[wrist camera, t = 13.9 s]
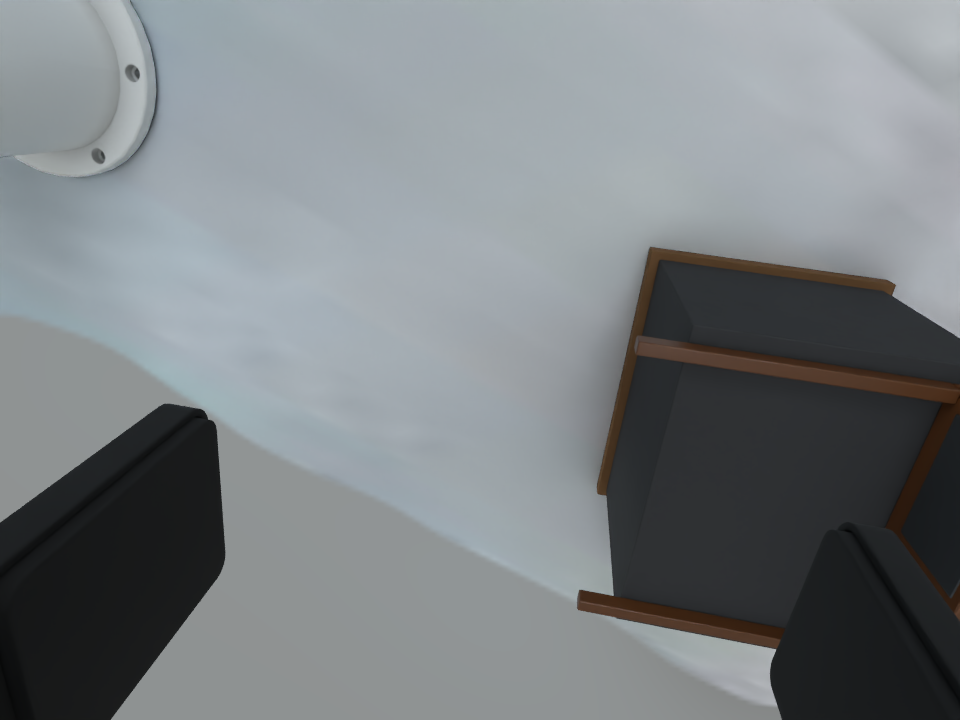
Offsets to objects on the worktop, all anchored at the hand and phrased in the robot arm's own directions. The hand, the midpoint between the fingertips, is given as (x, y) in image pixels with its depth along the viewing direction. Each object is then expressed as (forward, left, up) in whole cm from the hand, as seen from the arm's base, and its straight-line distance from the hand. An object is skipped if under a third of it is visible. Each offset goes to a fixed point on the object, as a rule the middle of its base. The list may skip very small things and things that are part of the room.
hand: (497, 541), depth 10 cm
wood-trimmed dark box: (+12, -9, -28) cm, 32 cm away
